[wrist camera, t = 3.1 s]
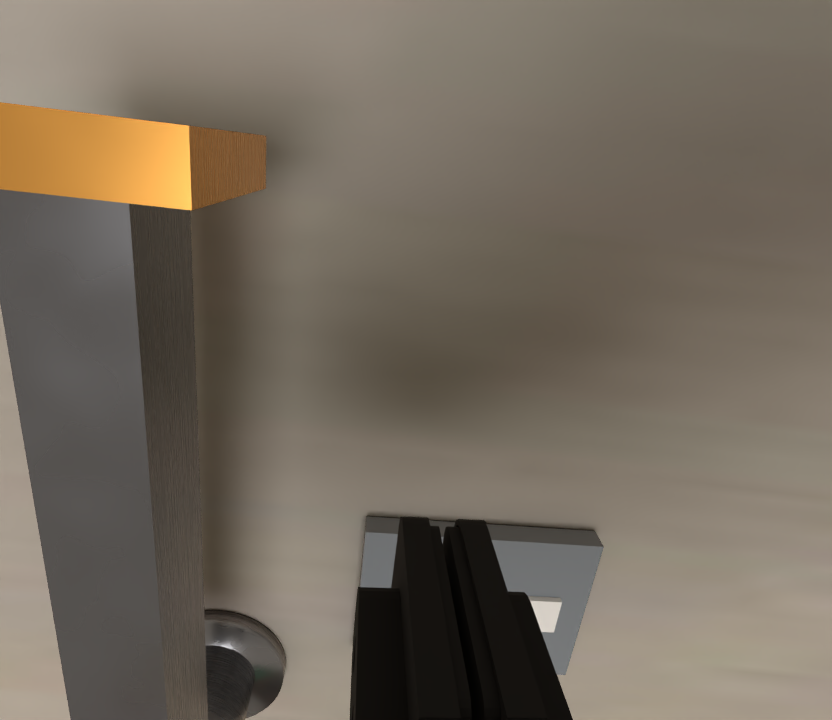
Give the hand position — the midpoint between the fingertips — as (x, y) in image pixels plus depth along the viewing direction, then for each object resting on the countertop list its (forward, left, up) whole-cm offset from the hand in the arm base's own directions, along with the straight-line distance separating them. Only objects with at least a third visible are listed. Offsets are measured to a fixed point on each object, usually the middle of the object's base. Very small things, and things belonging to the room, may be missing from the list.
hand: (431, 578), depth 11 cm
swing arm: (+6, 0, -3) cm, 7 cm away
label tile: (-3, +7, -7) cm, 10 cm away
